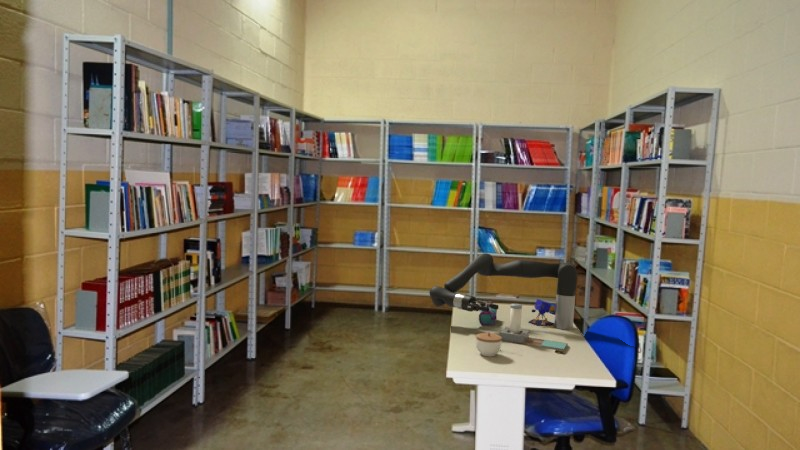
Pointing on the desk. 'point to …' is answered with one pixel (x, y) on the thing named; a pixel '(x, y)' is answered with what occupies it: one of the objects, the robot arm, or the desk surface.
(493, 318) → the pencil case
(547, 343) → the mat
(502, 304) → the desk surface
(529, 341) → the base board
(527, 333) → the grey square socket
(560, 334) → the desk surface
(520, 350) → the desk surface
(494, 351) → the lidded jar
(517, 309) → the capped cream cylinder
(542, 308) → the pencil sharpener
